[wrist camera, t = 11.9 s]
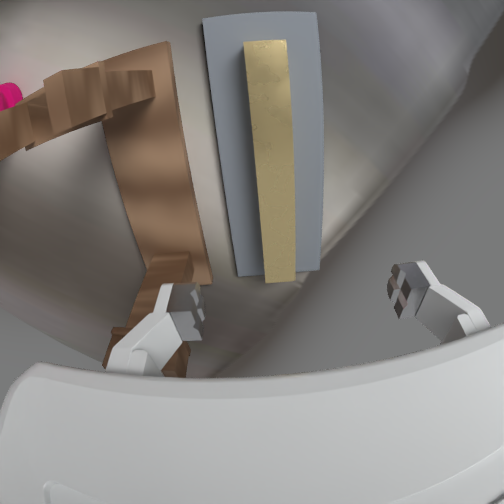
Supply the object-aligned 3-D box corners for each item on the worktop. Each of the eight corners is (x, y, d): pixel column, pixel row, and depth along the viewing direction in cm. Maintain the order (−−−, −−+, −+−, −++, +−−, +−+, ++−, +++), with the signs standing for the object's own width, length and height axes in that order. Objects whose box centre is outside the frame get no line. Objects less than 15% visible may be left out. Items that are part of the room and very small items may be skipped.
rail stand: (98, 65, 18) (-31, 87, 5) (170, 42, 17) (67, 14, 5) (156, 280, 32) (122, 392, 20) (213, 277, 32) (198, 398, 20)
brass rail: (243, 45, 17) (243, 41, 15) (281, 43, 17) (285, 39, 15) (264, 267, 30) (265, 283, 28) (292, 265, 30) (295, 280, 28)
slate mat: (203, 20, 16) (202, 18, 16) (314, 14, 16) (316, 12, 15) (238, 271, 31) (238, 276, 31) (317, 265, 31) (319, 269, 30)
